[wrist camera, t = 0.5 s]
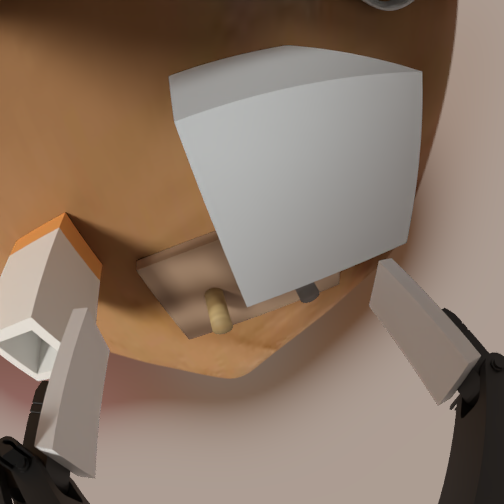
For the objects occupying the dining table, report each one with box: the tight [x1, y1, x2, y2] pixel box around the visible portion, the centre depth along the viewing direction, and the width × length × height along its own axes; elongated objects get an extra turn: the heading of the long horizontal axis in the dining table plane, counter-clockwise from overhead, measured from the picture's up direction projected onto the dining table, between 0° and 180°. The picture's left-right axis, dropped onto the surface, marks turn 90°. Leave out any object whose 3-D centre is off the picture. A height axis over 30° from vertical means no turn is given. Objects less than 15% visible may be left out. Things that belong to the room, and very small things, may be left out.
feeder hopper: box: [169, 45, 423, 307], centre depth 14 cm, size 8×8×12 cm
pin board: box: [136, 231, 340, 340], centre depth 26 cm, size 12×18×5 cm, turn 103°
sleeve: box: [0, 212, 102, 381], centre depth 17 cm, size 6×6×10 cm
